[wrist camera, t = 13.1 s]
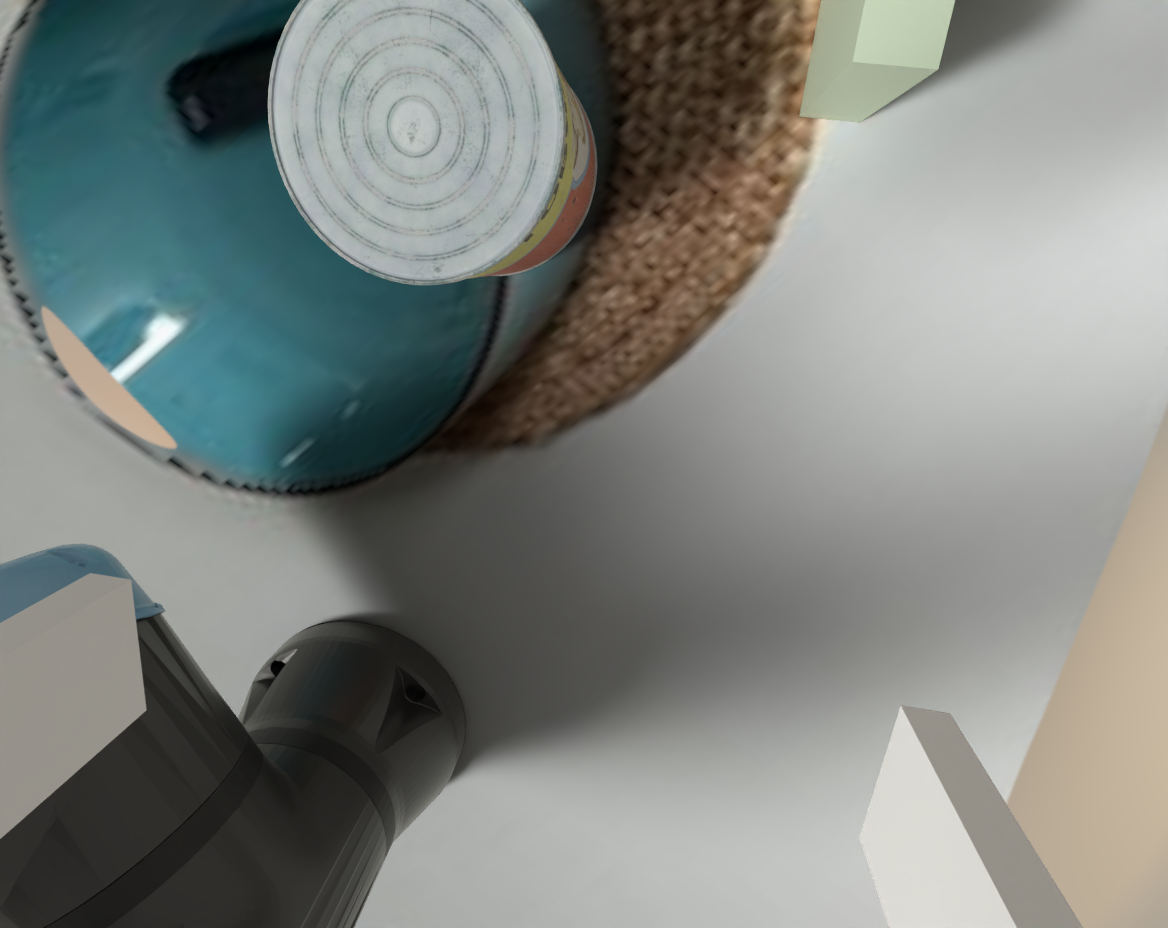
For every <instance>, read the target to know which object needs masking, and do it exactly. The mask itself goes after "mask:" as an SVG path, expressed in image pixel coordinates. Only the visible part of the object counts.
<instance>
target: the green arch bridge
mask: <svg viewBox="0 0 1168 928" xmlns="http://www.w3.org/2000/svg"><path fill="white" fill-rule="evenodd" d="M954 3H955V0H821V4H820V9H819V14H818V20H817V25H816V30H815V35H814V41H813V46H812V51H811V57H810V62H809V67H808V72H807V78H806V83H805V88H804V94H803V99H802V104H801V109H800V115H799V117H809V118H819V119H830V120H840V121H850V122H861V121H863V120H864V119H866V118H867V117H869V116H870V115H872V114H873V113H875V112H876V111H878V110H879V109H881V108H882V107H884V106H885V105H887V104H888V103H890V102H891V101H893V100H894V99H896V98H897V97H898V96H900V95H901V94H903V93H904V92H906V91H907V90H909V89H910V88H912V87H913V86H915V85H916V84H918V83H919V82H921V81H922V80H924V79H925V78H927V77H928V76H930V75H931V74H933V73H934V72H936V71H937V70H938V69H939V65H940V61H941V57H942V52H943V48H944V44H945V40H946V36H947V32H948V28H949V24H950V20H951V16H952V11H953V7H954Z"/></svg>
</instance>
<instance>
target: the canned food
mask: <svg viewBox="0 0 1168 928" xmlns="http://www.w3.org/2000/svg"><path fill="white" fill-rule="evenodd" d="M268 118H269V129H270V136H271V142H272V146H273V151H274V155H275V159H276V162H277V165H278V168H279V171H280V174H281V176H282V179H283V181H284V184H285V186H286V188H287V190H288V192H289V194H290V196H291V198H292V200H293V202H294V203H295V205H296V207H297V208H298V210H299V212H300V213H301V215H302V216H303V217H304V219H305V220H306V222H307V223H308V224H309V226H310V227H311V228H312V229H313V230H314V231H315V233H316V234H317V235H318V236H319V237H320V238H321V239H322V240H323V241H324V242H325V243H326V244H327V245H328V246H329V247H330V248H331V249H333V250H334V251H335V252H336V253H338V254H339V255H340V256H341V257H343V258H344V259H346V260H347V261H349V262H350V263H352V264H353V265H355V266H357V267H359V268H360V269H362V270H364V271H366V272H368V273H371V274H373V275H375V276H378V277H381V278H384V279H387V280H390V281H394V282H399V283H404V284H412V285H439V284H448V283H452V282H457V281H461V280H464V279H468V278H476V277H484V276H506V275H514V274H518V273H522V272H526V271H529V270H531V269H534V268H536V267H538V266H540V265H542V264H544V263H545V262H547V261H549V260H550V259H551V258H553V257H554V256H556V255H557V254H558V253H559V252H560V251H561V250H562V249H564V248H565V246H566V245H567V244H568V243H569V242H570V241H571V240H572V238H573V237H574V236H575V235H576V233H577V232H578V230H579V228H580V227H581V225H582V224H583V222H584V220H585V218H586V215H587V213H588V211H589V208H590V205H591V202H592V199H593V195H594V191H595V186H596V178H597V152H596V144H595V139H594V134H593V131H592V127H591V124H590V121H589V119H588V116H587V114H586V112H585V110H584V107H583V105H582V104H581V102H580V100H579V99H578V97H577V95H576V94H575V92H574V91H573V90H572V88H571V87H570V86H569V84H568V83H567V81H566V79H565V78H564V76H563V74H562V72H561V71H560V69H559V67H558V65H557V64H556V62H555V60H554V58H553V55H552V53H551V50H550V48H549V46H548V44H547V42H546V40H545V38H544V35H543V33H542V31H541V30H540V28H539V26H538V25H537V23H536V22H535V20H534V18H533V17H532V15H531V14H530V12H529V11H528V10H527V8H526V7H525V6H524V4H523V3H522V2H521V1H520V0H301V1H300V2H299V4H298V5H297V7H296V8H295V10H294V11H293V13H292V15H291V16H290V18H289V20H288V22H287V24H286V26H285V28H284V30H283V33H282V35H281V38H280V40H279V42H278V46H277V49H276V52H275V55H274V59H273V64H272V69H271V73H270V81H269V90H268Z"/></svg>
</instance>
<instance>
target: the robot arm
mask: <svg viewBox="0 0 1168 928" xmlns="http://www.w3.org/2000/svg"><path fill="white" fill-rule="evenodd" d="M163 612H165V610H164V608H163V607H162V605H161V604H158V603H154V602H153V601H152V600H151V599H150V598H149V597H148V595H147V594H146V593H145V592H144V591H143V589H142V588H141V587H140V586H139V585H138V583H137V582H136V581H135V580H134V579H133V577H132V576H131V575H130V574H129V573H128V571H127V570H126V569H125V568H124V567H123V565H122V564H121V563H120V562H119V561H118V559H116V558H115V557H114V556H113V555H112V554H110V553H109V552H108V551H106V550H104V549H102V548H99V547H96V546H92V545H87V544H70V545H62V546H57V547H53V548H50V549H46V550H43V551H40V552H36V553H33V554H30V555H27V556H24V557H21V558H18V559H15V560H12V561H9V562H6V563H3V564H0V928H354V927H355V925H356V923H357V920H358V918H359V916H360V914H361V911H362V909H363V907H364V905H365V903H366V900H367V898H368V896H369V894H370V891H371V889H372V887H373V885H374V882H375V880H376V878H377V876H378V873H379V871H380V869H381V867H382V864H383V862H384V860H385V858H386V856H387V853H388V851H389V849H390V847H391V845H392V843H393V842H394V841H395V839H396V838H397V837H398V836H399V835H400V834H401V833H402V832H403V831H404V830H405V829H406V828H407V827H408V826H409V825H410V824H411V823H412V822H413V821H414V820H415V819H416V818H417V817H418V816H419V815H420V814H421V813H422V812H423V811H424V810H425V809H426V808H427V806H428V805H429V804H430V803H431V802H432V801H433V800H434V799H435V798H436V797H437V796H438V795H439V794H440V793H441V791H442V790H443V789H444V787H445V786H446V784H447V783H448V781H449V779H450V777H451V775H452V773H453V771H454V768H455V766H456V763H457V761H458V759H459V756H460V754H461V751H462V748H463V745H464V740H465V727H466V725H465V715H464V710H463V706H462V703H461V700H460V697H459V695H458V692H457V690H456V688H455V686H454V684H453V683H452V681H451V679H450V678H449V676H448V675H447V674H446V672H445V671H444V670H443V668H442V667H441V666H440V665H439V664H438V663H437V662H436V661H435V660H434V659H433V658H432V657H431V656H430V655H429V654H428V653H427V652H425V651H424V650H423V649H422V648H420V647H419V646H418V645H416V644H415V643H413V642H412V641H410V640H408V639H406V638H405V637H403V636H401V635H399V634H397V633H395V632H392V631H390V630H387V629H384V628H381V627H378V626H374V625H370V624H365V623H358V622H332V623H325V624H321V625H317V626H314V627H311V628H308V629H306V630H304V631H302V632H300V633H298V634H296V635H295V636H293V637H292V638H290V639H289V640H288V641H287V642H286V643H284V644H283V645H282V646H281V647H280V648H279V649H278V651H277V652H276V653H275V654H274V655H273V656H272V657H271V658H270V659H269V660H268V661H267V662H266V663H265V664H264V665H263V667H262V668H261V669H260V671H259V672H258V674H257V676H256V677H255V679H254V681H253V683H252V685H251V687H250V690H249V692H248V695H247V697H246V700H245V702H244V705H243V707H242V710H241V712H240V715H239V717H238V718H237V717H236V715H235V714H234V713H233V711H232V710H231V709H230V707H229V706H228V705H227V703H226V702H225V701H224V699H223V698H222V697H221V695H220V694H219V693H218V691H217V690H216V689H215V687H214V686H213V685H212V683H211V682H210V681H209V679H208V678H207V677H206V675H205V674H204V673H203V671H202V670H201V669H200V667H199V666H198V664H197V663H196V662H195V660H194V659H193V657H192V656H191V655H190V653H189V652H188V650H187V649H186V648H185V646H184V645H183V644H182V642H181V641H180V639H179V638H178V637H177V635H176V634H175V632H174V631H173V630H172V628H171V627H170V625H169V624H168V623H167V621H166V620H165V619H164V617H163V616H162V614H161V613H163ZM860 841H861V845H862V848H863V851H864V854H865V857H866V860H867V863H868V866H869V869H870V872H871V875H872V878H873V881H874V884H875V887H876V890H877V893H878V896H879V899H880V902H881V905H882V908H883V911H884V914H885V917H886V920H887V923H888V926H889V928H1083V927H1082V925H1081V924H1080V922H1079V920H1078V919H1077V917H1076V916H1075V914H1074V912H1073V911H1072V909H1071V908H1070V906H1069V904H1068V903H1067V901H1066V900H1065V898H1064V896H1063V895H1062V893H1061V891H1060V890H1059V888H1058V887H1057V885H1056V883H1055V882H1054V880H1053V878H1052V877H1051V875H1050V874H1049V872H1048V870H1047V869H1046V867H1045V866H1044V864H1043V862H1042V861H1041V859H1040V858H1039V856H1038V854H1037V853H1036V851H1035V849H1034V848H1033V846H1032V845H1031V843H1030V841H1029V840H1028V838H1027V837H1026V835H1025V833H1024V832H1023V830H1022V828H1021V827H1020V825H1019V824H1018V822H1017V821H1016V819H1015V817H1014V816H1013V815H1012V812H1011V811H1010V809H1009V808H1008V806H1007V804H1006V803H1005V801H1004V799H1003V798H1002V796H1001V795H1000V793H999V791H998V790H997V788H996V787H995V785H994V783H993V782H992V780H991V779H990V777H989V775H988V774H987V772H986V770H985V769H984V767H983V766H982V764H981V762H980V761H979V759H978V758H977V756H976V754H975V753H974V751H973V750H972V748H971V746H970V745H969V743H968V741H967V740H966V738H965V737H964V735H963V733H962V732H961V730H960V729H959V727H958V725H957V724H956V722H955V721H954V719H953V717H952V716H951V714H950V713H944V712H938V711H931V710H925V709H919V708H913V707H907V706H900V709H899V713H898V716H897V719H896V722H895V725H894V729H893V732H892V735H891V738H890V741H889V745H888V748H887V751H886V754H885V757H884V761H883V764H882V767H881V770H880V774H879V777H878V780H877V783H876V786H875V790H874V793H873V796H872V799H871V802H870V806H869V809H868V812H867V815H866V818H865V822H864V825H863V828H862V831H861V834H860Z"/></svg>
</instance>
